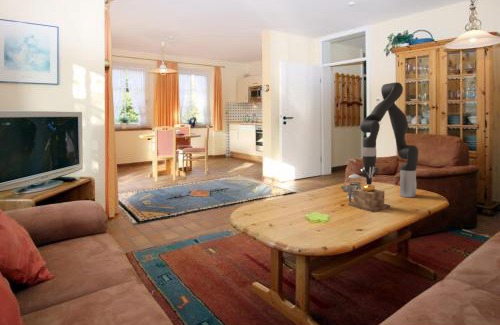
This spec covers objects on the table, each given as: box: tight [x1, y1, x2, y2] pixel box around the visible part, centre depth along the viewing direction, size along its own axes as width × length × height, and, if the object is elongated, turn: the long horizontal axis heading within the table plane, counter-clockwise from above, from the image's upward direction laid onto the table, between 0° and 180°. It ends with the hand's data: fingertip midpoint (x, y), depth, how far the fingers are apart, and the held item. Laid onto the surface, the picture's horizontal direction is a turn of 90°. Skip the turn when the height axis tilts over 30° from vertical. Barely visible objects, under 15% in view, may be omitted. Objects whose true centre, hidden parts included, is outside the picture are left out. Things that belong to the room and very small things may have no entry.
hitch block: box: [347, 188, 391, 213], centre depth 204 cm, size 15×18×10 cm
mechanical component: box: [340, 184, 359, 203], centre depth 217 cm, size 3×10×10 cm, turn 78°
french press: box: [343, 159, 362, 200], centre depth 227 cm, size 10×12×25 cm
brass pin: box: [363, 184, 376, 192], centre depth 204 cm, size 6×6×10 cm
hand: (369, 184), depth 203 cm, fingers closed
